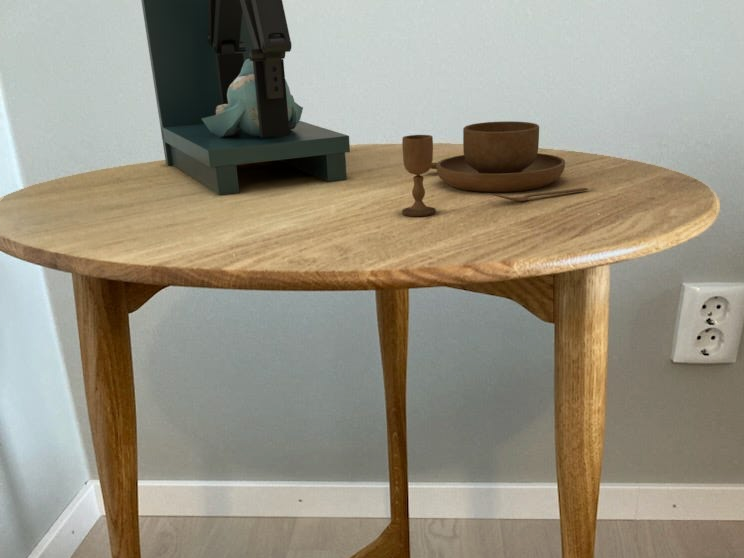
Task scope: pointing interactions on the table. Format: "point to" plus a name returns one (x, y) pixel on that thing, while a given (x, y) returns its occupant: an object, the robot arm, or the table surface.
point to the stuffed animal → (245, 107)
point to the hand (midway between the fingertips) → (255, 128)
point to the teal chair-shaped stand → (202, 96)
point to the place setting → (485, 162)
